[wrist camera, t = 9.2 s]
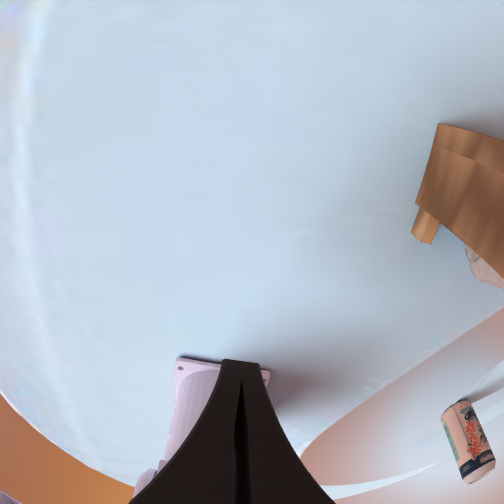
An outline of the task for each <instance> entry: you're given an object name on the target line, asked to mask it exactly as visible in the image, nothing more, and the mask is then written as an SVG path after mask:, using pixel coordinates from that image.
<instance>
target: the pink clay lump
mask: <svg viewBox="0 0 504 504" xmlns="http://www.w3.org/2000/svg"><path fill="white" fill-rule="evenodd" d="M465 246H466V248H465V249H466V255H467V257H468V259H469V260H470V267H471V270H472V273H473V274H474V276H475V277H476V278H477V279H478V280H480V281H482V282H489V283H492V284H494V285H495V286H497V287H500V288H504V279H503V278H502V277H501V276H500V275H499V274H498V273H497V272H496V271H495V270H494V269H493V268H492V267H491V266H490V265H488V264H487V263H486V262H485V261H484V260H483V259H482V258H481V257H480V256H479V255H478V254H477V253H475V252H474V251H473V250H472V249H471V248H470V247H469V246H468V245H466V244H465Z"/></svg>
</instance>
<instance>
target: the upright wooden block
mask: <svg viewBox="0 0 504 504" xmlns="http://www.w3.org/2000/svg"><path fill="white" fill-rule="evenodd" d="M415 203H416V204H417V205H418V206H420V209H419V212H418V215H417V218H416V220H415V223H414V226H413V228H412V231H411V233H412V234H413V235H414V236H415V237H416V238H417V239H418V240H419V241H420V242H424V243H428V244H432V242H433V240H434V237H435V235H436V232H437V230H438V227H439V224H440V223H441V224H443V225H444V226H445V227H446V228H448V229H449V230H450V231H451V232H452V233H454V234H455V235H456V236H457V237H458V238H460V239H461V240H462V241H463V242H464V243H465V244H466V245H468V246H469V247H470V248H471V249H472V250H473V251H474V252H475V253H477V254H478V255H479V256H480V257H481V258H482V259H483V260H484V261H485V262H486V263H487V264H488V265H490V266H491V267H492V268H493V269H494V270H495V271H496V272H497V273H498V274H499V275H500V276H501V277H502V278H503V279H504V141H503V140H500V139H497V138H494V137H490V136H487V135H483V134H480V133H476V132H472V131H468V130H464V129H460V128H456V127H452V126H448V125H443V124H438V126H437V131H436V135H435V139H434V142H433V146H432V150H431V154H430V157H429V161H428V164H427V168H426V171H425V174H424V178H423V181H422V184H421V187H420V190H419V193H418V196H417V199H416V202H415Z"/></svg>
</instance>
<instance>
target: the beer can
mask: <svg viewBox="0 0 504 504" xmlns="http://www.w3.org/2000/svg"><path fill="white" fill-rule="evenodd" d="M441 422H442V424H443V427H444V429H445V432H446V434H447V437H448V440H449V442H450V445H451V448H452V450H453V453H454V456H455V459H456V461H457V464H458V467H459V470H460V473H461V476H462V479H463V481H464V482H465V483H467V484H471V483H473V482H476V481H478V480H479V479H481V478H483V477H484V476H486V475H487V474H489V473H490V472H492V471H493V470H494V469H495V462H496V461H495V458H494V455H493V453H492V450H491V448H490V445H489V443H488V440H487V438H486V436H485V434H484V431H483V429H482V427H481V424H480V422H479V420H478V418H477V416H476V414H475V412H474V409H473V407H472V405H471V403H470V401H468V400H464V401H459V402H456V403H455V404H453V405H451V406H450V407H449V408H447V409H446V410H445V412H444V413H443V415H442V416H441Z"/></svg>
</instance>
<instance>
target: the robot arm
mask: <svg viewBox="0 0 504 504" xmlns="http://www.w3.org/2000/svg"><path fill="white" fill-rule="evenodd" d="M180 366H181V367H180ZM269 379H270V372H269V371H266V370H261V368H260V365H259V364H258V363H252V362H244V361H237V360H230V359H224V360H222V362H221V364H214V363H208V362H202V361H197V360H191V359H186V358H177V359H176V361H175V408H174V413H173V417H172V422H171V427H170V432H169V437H168V442H167V447H166V452H165V457H164V460H160V461H159V466H158V471H157V470H155V469H149V470H147V472H145V473H143V474H141V476H140V477H139V479H138V482H137V484H136V488H135V491H134V496H133V499H132V500H131V501H130V502H129V504H336V503H335V502H334V501H333V500H332V499H331V498H330V497H329V496H328V495H327V494H326V493H325V492H324V490H323V489H322V488H321V487H320V486H319V485H318V483H317V482H316V481H315V480H314V478H313V477H312V476H311V474H310V473H309V472H308V471H307V469H306V468H305V466H304V465H303V463H302V462H301V460H300V459H299V457H298V456H297V454H296V453H295V451H294V449H293V448H292V446H291V444H290V442H289V441H288V439H287V437H286V435H285V433H284V431H283V429H282V427H281V425H280V423H279V421H278V418H277V416H276V414H275V411H274V409H273V406H272V404H271V401H270V399H269V396H268V393H267V390H266V387H267V385H268V382H269ZM0 504H21V503H20V502H18V501H16V500H15V499H13V498H11V497H10V496H9V495H7V494H6V493H4V492H2V491H1V490H0Z"/></svg>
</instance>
